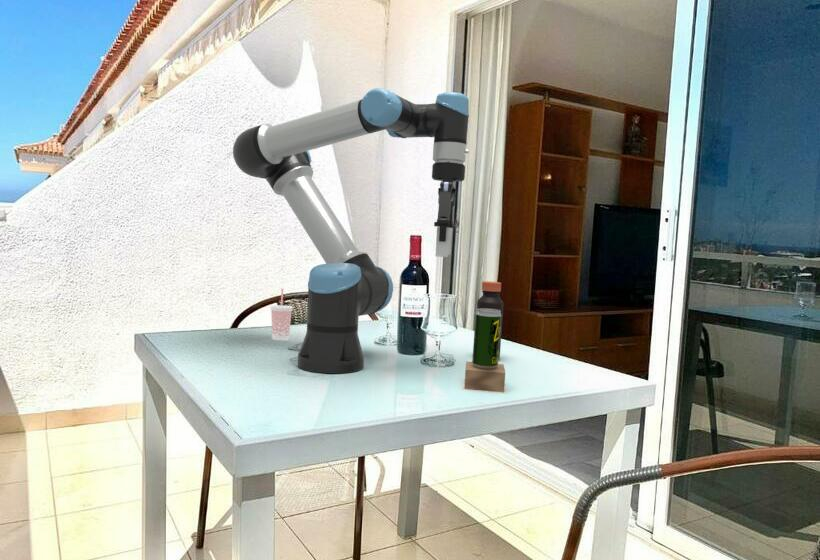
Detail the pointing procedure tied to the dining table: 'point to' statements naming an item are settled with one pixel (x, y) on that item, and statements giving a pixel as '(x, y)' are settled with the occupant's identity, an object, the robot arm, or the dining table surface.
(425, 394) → the dining table surface
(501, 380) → the walnut block
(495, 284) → the bottle
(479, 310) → the beer can
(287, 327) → the beverage cup
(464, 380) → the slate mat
